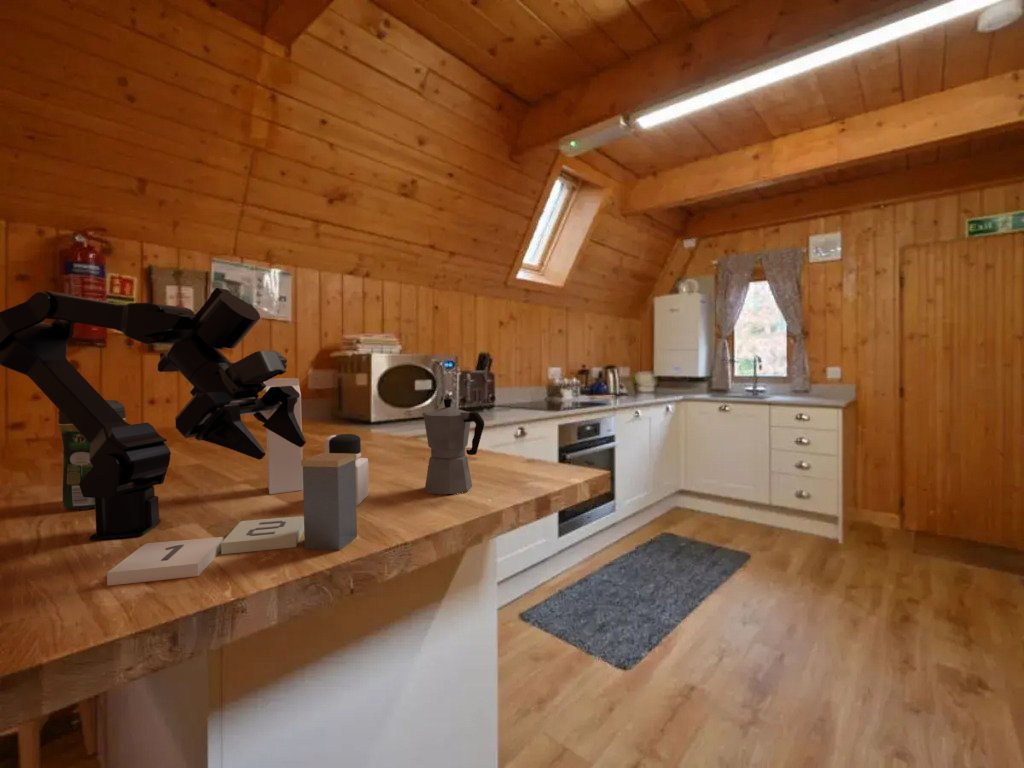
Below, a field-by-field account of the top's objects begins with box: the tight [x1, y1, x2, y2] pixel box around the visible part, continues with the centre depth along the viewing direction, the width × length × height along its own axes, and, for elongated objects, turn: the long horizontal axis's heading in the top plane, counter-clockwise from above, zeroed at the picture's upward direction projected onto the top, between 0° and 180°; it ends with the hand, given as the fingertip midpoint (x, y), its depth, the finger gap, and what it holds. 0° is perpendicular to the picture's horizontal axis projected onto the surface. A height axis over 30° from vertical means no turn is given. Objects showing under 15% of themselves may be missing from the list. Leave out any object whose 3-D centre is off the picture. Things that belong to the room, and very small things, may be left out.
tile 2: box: [220, 515, 304, 555], centre depth 68 cm, size 9×9×2 cm
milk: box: [264, 377, 304, 495], centre depth 95 cm, size 6×6×22 cm
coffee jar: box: [57, 399, 127, 511], centre depth 86 cm, size 10×8×19 cm
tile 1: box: [106, 536, 224, 587], centre depth 59 cm, size 9×9×2 cm
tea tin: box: [301, 452, 358, 552], centre depth 66 cm, size 5×5×12 cm
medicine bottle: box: [324, 433, 370, 507], centre depth 86 cm, size 7×7×12 cm
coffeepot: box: [422, 397, 485, 495], centre depth 93 cm, size 15×9×18 cm, turn 55°
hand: (284, 450), depth 67 cm, fingers open, 9 cm apart
